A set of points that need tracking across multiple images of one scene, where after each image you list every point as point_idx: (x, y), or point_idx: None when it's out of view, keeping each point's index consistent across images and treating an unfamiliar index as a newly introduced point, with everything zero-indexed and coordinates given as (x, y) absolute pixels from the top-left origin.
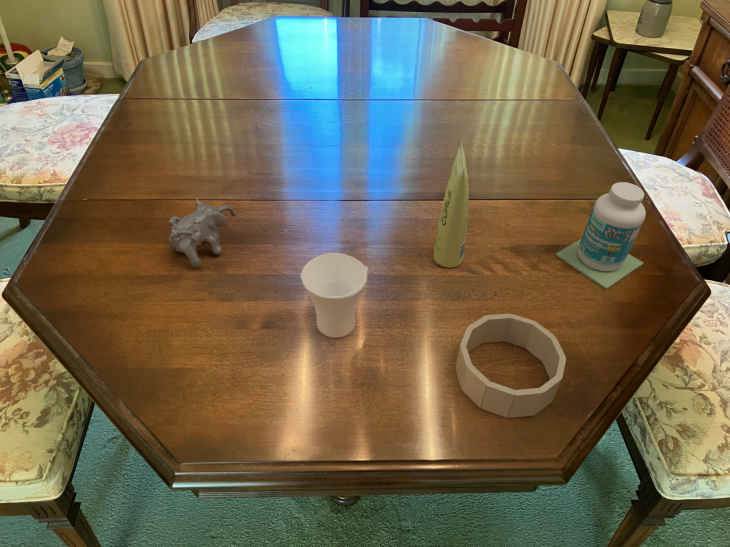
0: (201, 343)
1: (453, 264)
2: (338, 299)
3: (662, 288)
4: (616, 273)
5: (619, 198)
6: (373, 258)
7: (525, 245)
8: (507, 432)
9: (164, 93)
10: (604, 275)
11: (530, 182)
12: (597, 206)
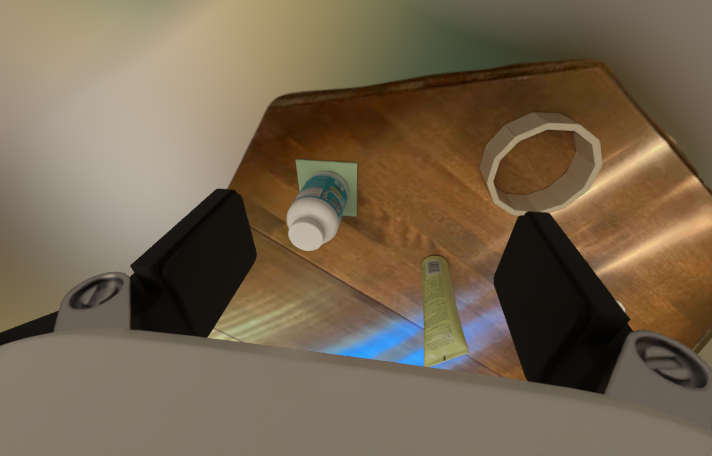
0: (642, 311)
1: (442, 259)
2: (617, 300)
3: (307, 127)
4: (331, 168)
5: (323, 236)
6: (477, 294)
7: (367, 236)
8: (595, 117)
9: None
10: (343, 174)
11: (295, 275)
12: (331, 238)
